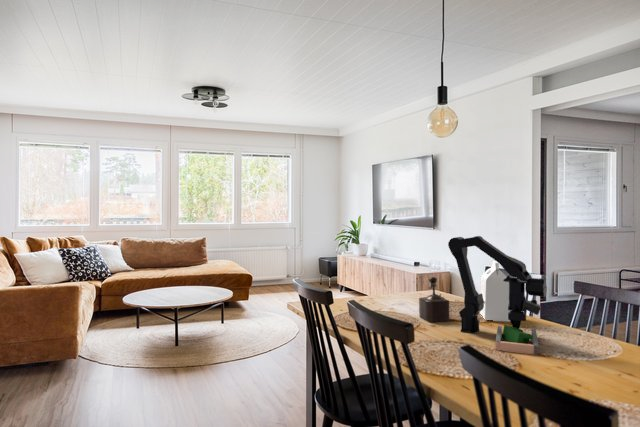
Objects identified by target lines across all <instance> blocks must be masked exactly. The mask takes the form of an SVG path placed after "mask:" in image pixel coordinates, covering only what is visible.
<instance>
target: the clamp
mask: <svg viewBox="0 0 640 427" xmlns="http://www.w3.org/2000/svg"><path fill="white" fill-rule="evenodd" d="M503 326H504V327H503V328H502V336H501V340H503V341H504V342H513V343H523V344H530V343H529V342H530V340H531V341H532V339H533V335H532V333H527V332H524V330H523V329H521V328H516V327H512V325H511V326H510V325H507V324H504V325H503Z"/></svg>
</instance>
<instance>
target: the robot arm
mask: <svg viewBox="0 0 640 427" xmlns="http://www.w3.org/2000/svg"><path fill="white" fill-rule="evenodd" d="M447 243H448V244H447V245H448V246H447V247H448V249H449V251H450V252H451V254H452V256H453V257H454V259H455V261H456V264H457V268H458V271H459V276H460V279H461V282H462V286H463V291H464V298H463V299H464V301H463V302H464V303H463V304H464V307H463V308H462V309H461V310H460V311H459V312H458V314H459V317H460V318H461V320H460V321H461V322H460V324H461V325H460V332H461V333H462V332H463V333H471V334H477V333H478V331H480V319H479V318H478V316H479V315H480V311H481V310H482V309H483V308H484V303H485V302H484V300H483V295H482V294H481V293H478V291H477V290H476V286H475V282H474V278H473V275H472V274H473V273H472V271H471V266H470V264H469V260H468V248H469V247H471V248H472V247H476V248H477V249H479V250H480V251H482V252H483V253H485V255H488V257H490V258H492V259H493V261H496V262H498V263H499V266H501V267H502V269H504V271H505V272H506V273H507V274H508V275H506V276H507V277H506V278H505V279H504V280H503V281H505V282H509V304H508V310H510V311H509V312H508V319H509V320H510V324H511V326H512V327H516V328H519V329H521V328H520V326H521V323H522V322H526V321H527V314H526V313H525V312H526V311H528V312H530V313H532V314H534V315H537V316H538V315H539V314H540V311H541V309H542V306H541V305H540V304H538V301H537V300H536V299H534V298H532V299H531V300H528V299H526V294H527V295H529V296H534V297H535V296H536V297H541V298H542V297H543V298H545V297H546V296H547V291H548V287H547V284H546V283H547V282H546V278H543V277H542V278H540V277H539V278H538V277H537V278H535V277H532V275H531V274H530V272H528V270H527V265H526V263H525V262H523V261H521V260H520V259H517V258H516V257H512V256H509V255H508V254H505V253H504V252H503V251H501V250H500V249H499V248H497V247H496V246H495V245H493V244H492V243H490V242H489V241H487V240H486V239H484V238H483V237H482V236H481V235H477V236H473V237H466V238H464V237H462V236H457V237H456V236H455V237H452V238H451V239H449V241H448V242H447Z"/></svg>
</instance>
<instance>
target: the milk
mask: <svg viewBox="0 0 640 427" xmlns="http://www.w3.org/2000/svg"><path fill="white" fill-rule="evenodd" d="M507 276H508V275H506V274H504V272H502V270H501V269H500V264H499V263H498V262H497V261H496V260H493V261H492V264H491V267H490V268H488V269H486V270H485V272H484V273H482V274H481V281H480V284H481V285H480V294H482V295H483V300H484V302H485V303H484V308H483V309H482V310H481V311H480V312H479V315H480V314H481V315H482V316H483V318H484V319H485V320H486V319H487V320H493V321H492V322H508V323H509V322H510V320H509V319H508V312H509V311H510V310H508V304H509V282H505V281H503V280H504V279H505V278H506V277H507ZM481 315H480V316H481ZM482 316H481V317H482ZM483 318H482V319H483ZM484 319H483V320H484ZM485 320H484V321H485ZM510 323H511V322H510Z"/></svg>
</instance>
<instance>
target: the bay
mask: <svg viewBox="0 0 640 427" xmlns="http://www.w3.org/2000/svg"><path fill="white" fill-rule="evenodd" d="M502 333H503V326H502V325H497V331H496V337H495V349H498V350H497V351H500V350H502V351H501V352H508V353H509V352H510V353H518V354H528V355H534V356H535V355H536V356H538V355H539V342H538V335H537V329H536V328H531V335H533V339H532V340H531V343H528V344H523V343H513V342H506V341H504V340H503V341H502ZM532 344H533V345H532ZM495 349H494V350H495Z"/></svg>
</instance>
